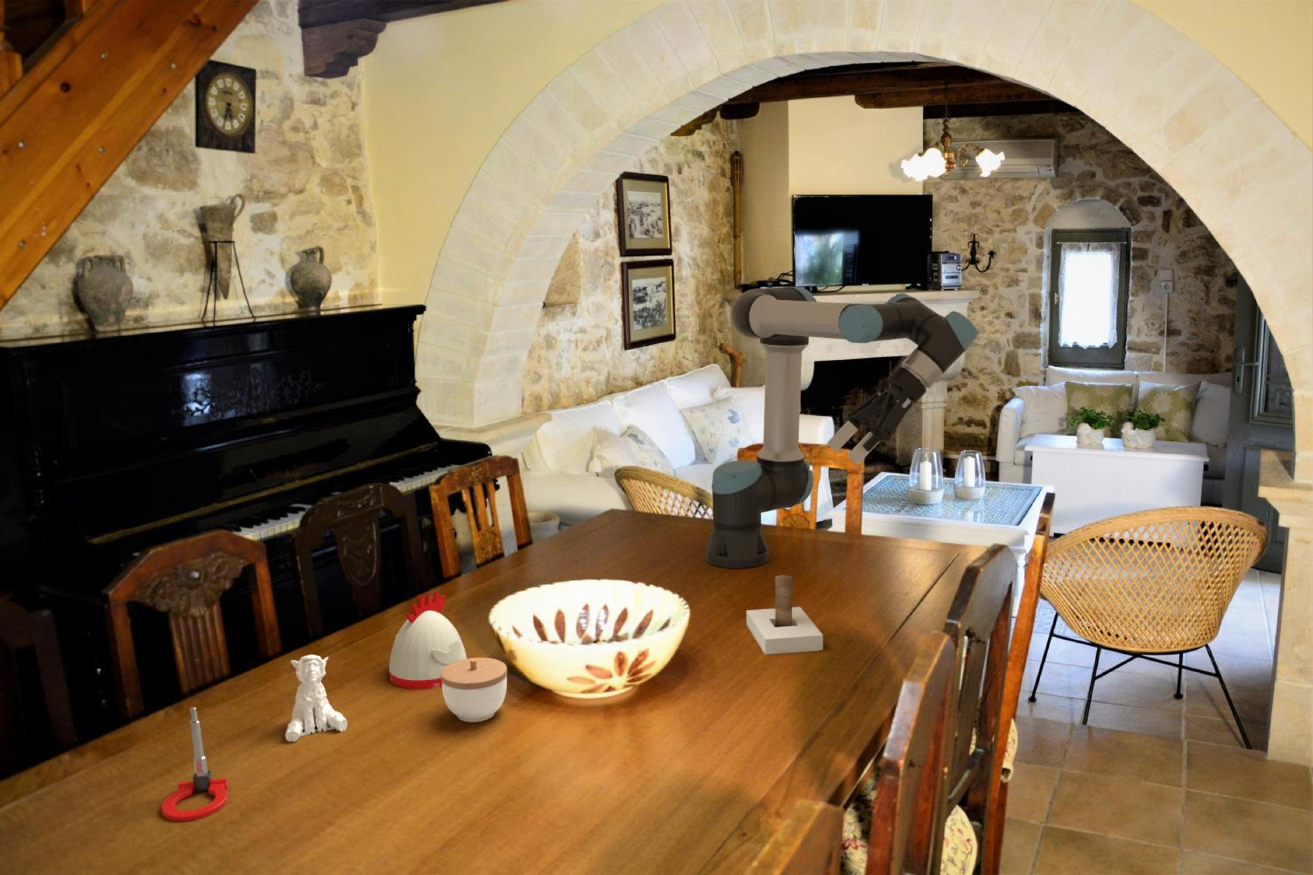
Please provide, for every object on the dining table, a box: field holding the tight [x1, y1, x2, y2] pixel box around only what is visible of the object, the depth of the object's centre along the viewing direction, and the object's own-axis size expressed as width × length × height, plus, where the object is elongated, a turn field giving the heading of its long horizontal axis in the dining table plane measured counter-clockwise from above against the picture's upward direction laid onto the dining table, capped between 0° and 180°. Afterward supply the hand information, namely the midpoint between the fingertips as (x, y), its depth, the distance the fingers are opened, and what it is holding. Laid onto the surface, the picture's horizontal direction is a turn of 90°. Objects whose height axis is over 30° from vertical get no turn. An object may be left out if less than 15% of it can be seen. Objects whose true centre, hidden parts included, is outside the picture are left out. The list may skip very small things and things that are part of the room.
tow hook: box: [161, 706, 229, 822], centre depth 147 cm, size 8×13×9 cm
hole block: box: [745, 606, 824, 655], centre depth 205 cm, size 16×11×3 cm
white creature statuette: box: [284, 654, 348, 743], centre depth 170 cm, size 10×9×12 cm
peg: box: [774, 574, 793, 627], centre depth 204 cm, size 3×3×12 cm
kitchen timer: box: [388, 590, 468, 690], centre depth 191 cm, size 14×14×15 cm
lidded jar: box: [441, 657, 508, 723], centre depth 174 cm, size 11×11×9 cm
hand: (841, 454), depth 215 cm, fingers open, 13 cm apart
